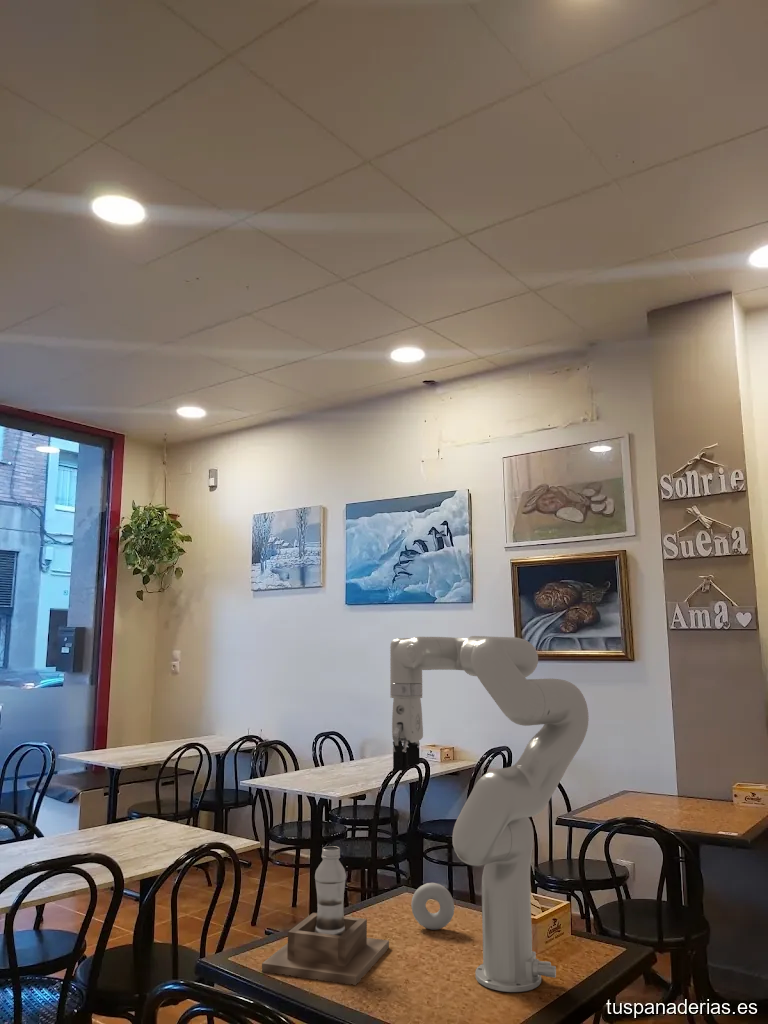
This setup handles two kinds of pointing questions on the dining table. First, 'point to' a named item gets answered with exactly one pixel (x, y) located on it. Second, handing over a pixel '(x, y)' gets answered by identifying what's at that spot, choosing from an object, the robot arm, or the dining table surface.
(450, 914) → the donut
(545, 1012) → the dining table surface
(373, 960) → the bottle stand
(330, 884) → the plastic bottle
